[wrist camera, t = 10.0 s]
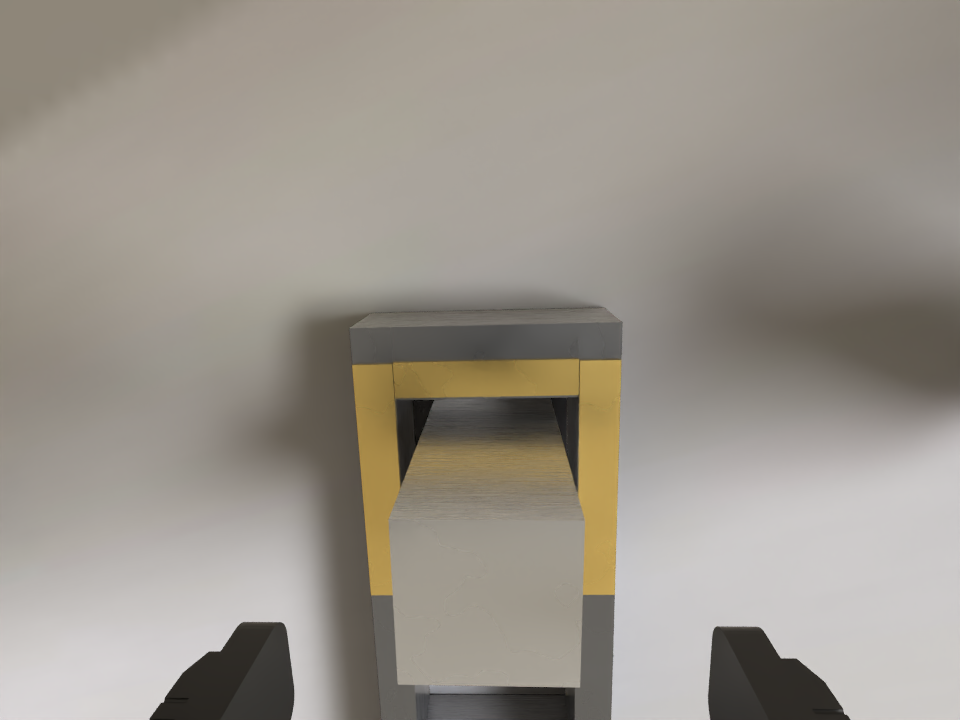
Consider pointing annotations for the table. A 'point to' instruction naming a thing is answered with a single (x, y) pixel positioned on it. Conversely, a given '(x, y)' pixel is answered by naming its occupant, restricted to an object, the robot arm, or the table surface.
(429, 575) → the brushed metal square block
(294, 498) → the table surface
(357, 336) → the grey long flat frame
